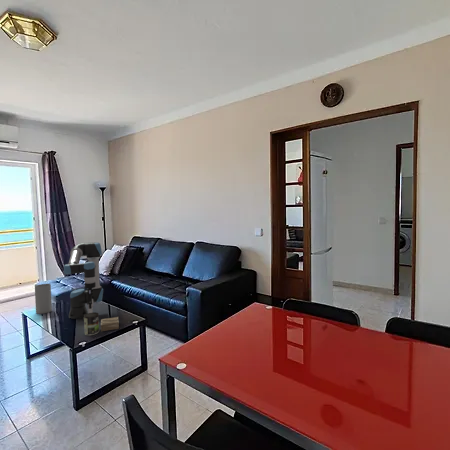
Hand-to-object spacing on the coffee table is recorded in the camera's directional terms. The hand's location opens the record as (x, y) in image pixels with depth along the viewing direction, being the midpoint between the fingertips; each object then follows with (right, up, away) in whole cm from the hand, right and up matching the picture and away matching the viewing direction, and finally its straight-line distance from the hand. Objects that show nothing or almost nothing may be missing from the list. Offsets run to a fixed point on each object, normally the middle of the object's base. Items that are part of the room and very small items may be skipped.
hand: (91, 309), depth 220 cm
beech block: (+10, -17, +12) cm, 23 cm away
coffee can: (0, -18, +1) cm, 18 cm away
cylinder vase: (-67, -16, +49) cm, 84 cm away
